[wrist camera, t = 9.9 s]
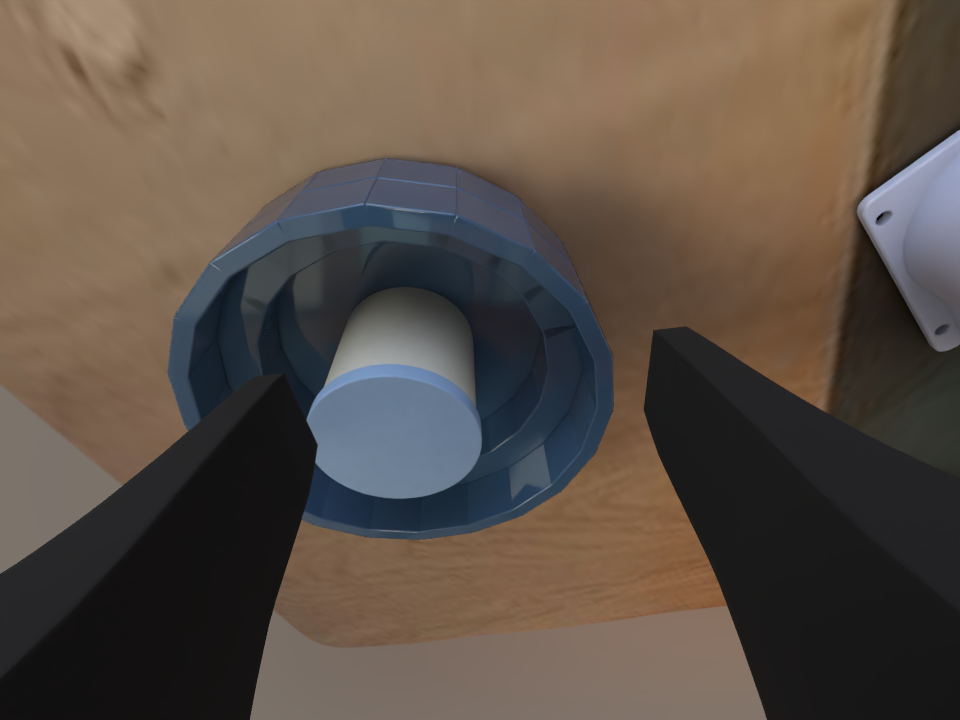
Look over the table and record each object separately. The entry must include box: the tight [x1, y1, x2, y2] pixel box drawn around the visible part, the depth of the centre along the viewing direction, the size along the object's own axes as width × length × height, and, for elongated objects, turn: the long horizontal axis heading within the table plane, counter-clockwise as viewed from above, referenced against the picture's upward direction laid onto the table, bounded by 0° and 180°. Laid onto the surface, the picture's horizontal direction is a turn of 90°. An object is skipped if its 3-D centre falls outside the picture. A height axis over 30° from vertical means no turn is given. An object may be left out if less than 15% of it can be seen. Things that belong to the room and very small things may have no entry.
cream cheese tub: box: [306, 287, 482, 499], centre depth 17 cm, size 6×6×6 cm
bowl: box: [167, 158, 614, 540], centre depth 18 cm, size 14×14×5 cm
